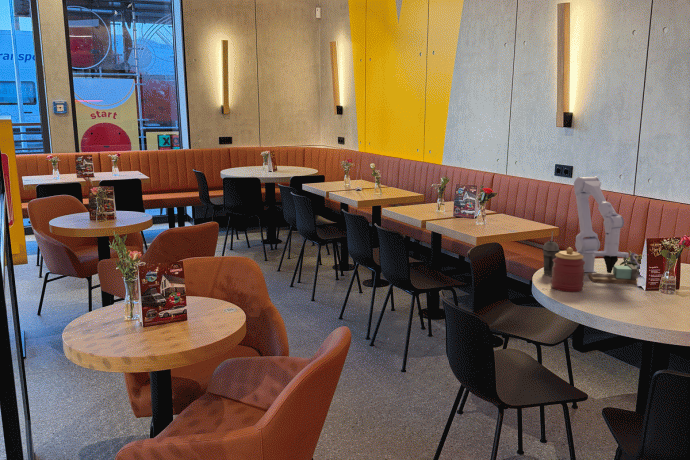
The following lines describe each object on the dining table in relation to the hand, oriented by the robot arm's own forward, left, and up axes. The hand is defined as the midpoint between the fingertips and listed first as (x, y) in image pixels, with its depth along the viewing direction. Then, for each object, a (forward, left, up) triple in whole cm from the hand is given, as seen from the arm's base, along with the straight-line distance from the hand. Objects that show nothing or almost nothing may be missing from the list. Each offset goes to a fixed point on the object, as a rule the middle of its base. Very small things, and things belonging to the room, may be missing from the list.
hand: (609, 272), depth 266 cm
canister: (-21, -16, -4) cm, 26 cm away
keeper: (+5, 0, -2) cm, 6 cm away
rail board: (+1, 0, -3) cm, 4 cm away
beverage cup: (-25, +5, -4) cm, 25 cm away
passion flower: (+14, +17, -4) cm, 23 cm away
